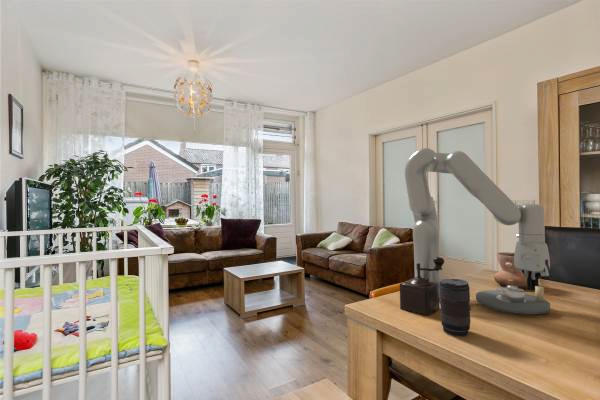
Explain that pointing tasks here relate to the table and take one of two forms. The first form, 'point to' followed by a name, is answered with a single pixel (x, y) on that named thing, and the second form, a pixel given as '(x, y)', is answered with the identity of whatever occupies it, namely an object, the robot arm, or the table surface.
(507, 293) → the cover
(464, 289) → the camera lens
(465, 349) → the table surface
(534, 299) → the turntable
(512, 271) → the ceramic jug
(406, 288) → the manual coffee grinder
